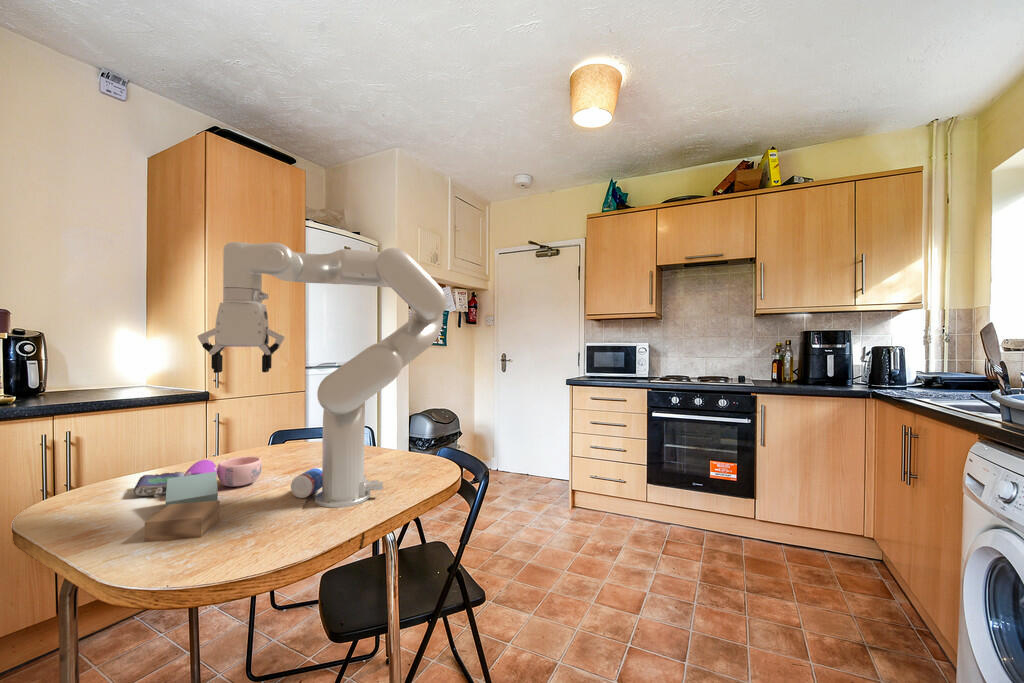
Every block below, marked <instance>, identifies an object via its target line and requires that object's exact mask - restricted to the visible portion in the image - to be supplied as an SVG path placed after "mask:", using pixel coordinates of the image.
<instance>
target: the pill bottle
mask: <svg viewBox="0 0 1024 683" xmlns="http://www.w3.org/2000/svg"><path fill="white" fill-rule="evenodd" d="M320 489H322V467H312V468H310V469H309V470H307V471H305V472H303V473H301V474H299V475H298V476H296V477H294V478H293V479H292V481H291V483H290V490H291V493H292V494H293V495H294V496H295V497H296V498H299V499H305V498H308V497H309V496H310V495H312V494H314V493H315V492H317V491H319V490H320Z"/></svg>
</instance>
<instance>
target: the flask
mask: <svg viewBox="0 0 1024 683" xmlns="http://www.w3.org/2000/svg"><path fill="white" fill-rule="evenodd" d="M184 475H185V473H184V472H183V471H175V472H165V473H164V472H163V473H161V474H158V473H157V474H144V475H142V476H141V477H139V479H138V481H137V483H136V485H135V487H134V488H133V493H134V495H136V496H137V497H138V496H140V497H143V496H144V497H154V498H158V497H161V496H162V495H163V496H164V495H166V490H167V479H168V478H175V477H182V476H184Z"/></svg>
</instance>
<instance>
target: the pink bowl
mask: <svg viewBox="0 0 1024 683" xmlns="http://www.w3.org/2000/svg"><path fill="white" fill-rule="evenodd" d="M216 468H217V478H218V480H219V482H220V483H221V484H222V486H225V487H241V486H246V485H249V484H252V483H254V482H256V481H257V480H258V479H259V477H260V476H261V473H262V469H263V462H262V459H261V458H260V457H258V456H237V457H233V458H228V459H225V460H222V461H220V462H219V463H218V465H217V467H216Z"/></svg>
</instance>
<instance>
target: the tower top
mask: <svg viewBox="0 0 1024 683" xmlns="http://www.w3.org/2000/svg"><path fill="white" fill-rule="evenodd" d="M217 478H218V476H217V477H216V472H210V473H203V474H196V475H189V476H182V477H175V478H168V479H167V490H166V494H165V506H164V507H166V506H168V505H169V504H181V503H193V502H206V501H218V499H219V498H218V497H219V494H218V493H219V492H218V481H217Z"/></svg>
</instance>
